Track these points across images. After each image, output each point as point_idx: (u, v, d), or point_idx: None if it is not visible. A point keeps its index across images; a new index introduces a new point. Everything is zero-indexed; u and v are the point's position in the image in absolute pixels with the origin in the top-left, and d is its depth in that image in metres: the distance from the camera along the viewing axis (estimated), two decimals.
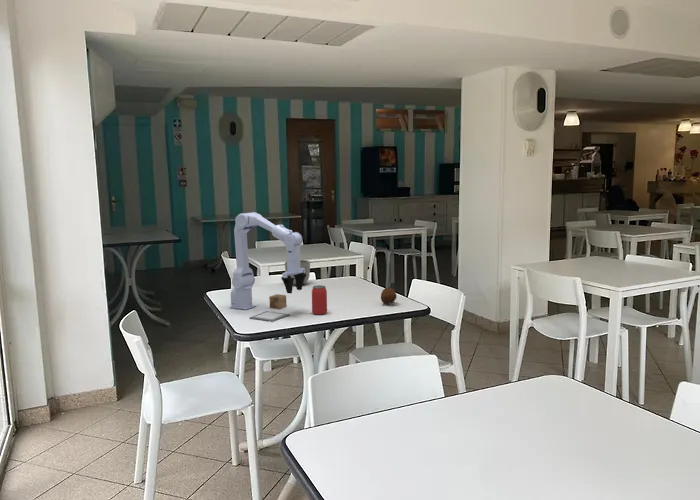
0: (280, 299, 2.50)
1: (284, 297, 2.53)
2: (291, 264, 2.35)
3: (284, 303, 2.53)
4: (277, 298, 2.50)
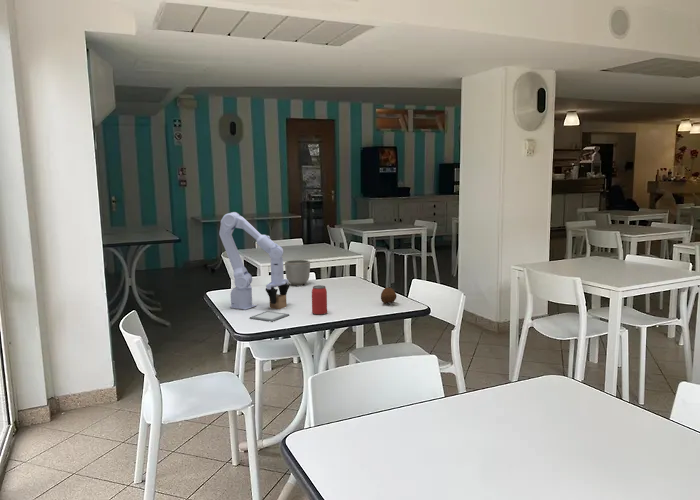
0: (280, 299, 2.50)
1: (284, 297, 2.53)
2: (275, 276, 2.49)
3: (284, 303, 2.53)
4: (277, 298, 2.50)
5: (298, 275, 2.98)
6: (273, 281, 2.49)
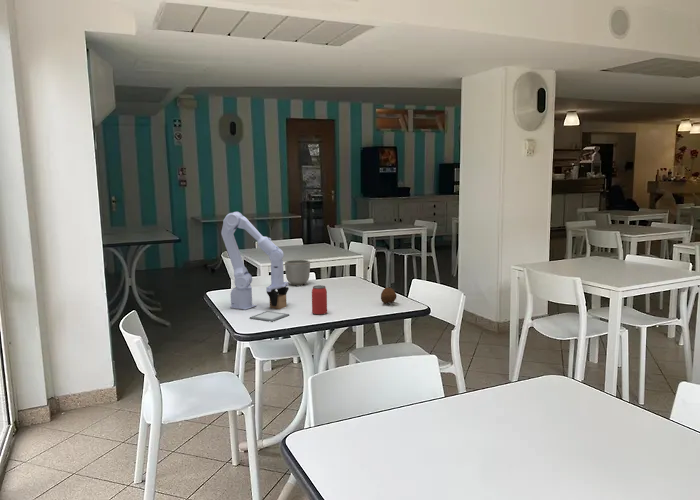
0: (280, 299, 2.50)
1: (284, 297, 2.53)
2: (275, 279, 2.49)
3: (284, 303, 2.53)
4: (277, 298, 2.50)
5: (298, 275, 2.98)
6: (273, 284, 2.50)
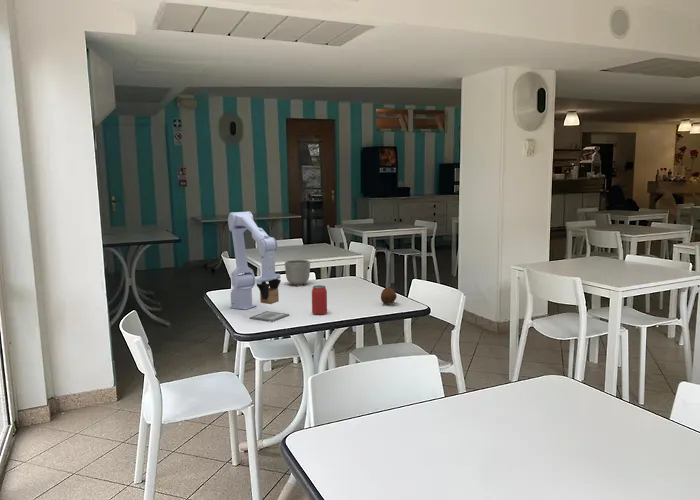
0: (271, 293, 2.32)
1: (276, 291, 2.34)
2: (265, 270, 2.31)
3: (276, 297, 2.35)
4: (268, 292, 2.31)
5: (298, 275, 2.98)
6: (264, 275, 2.31)
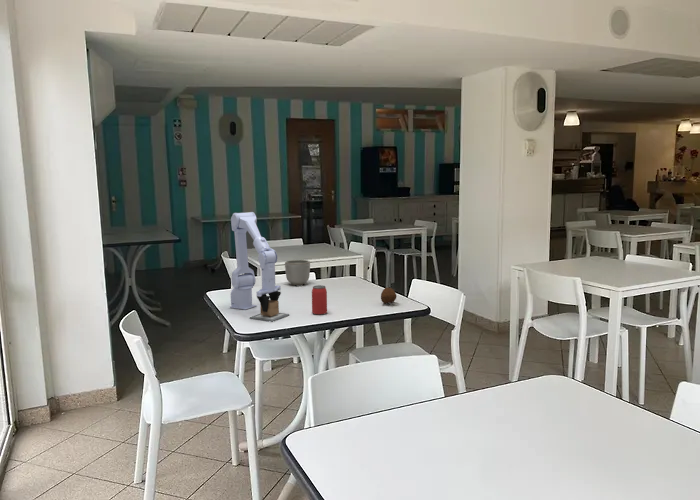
0: (271, 305, 2.32)
1: (276, 303, 2.35)
2: (266, 282, 2.31)
3: (276, 309, 2.35)
4: (268, 304, 2.32)
5: (298, 275, 2.98)
6: (264, 288, 2.32)
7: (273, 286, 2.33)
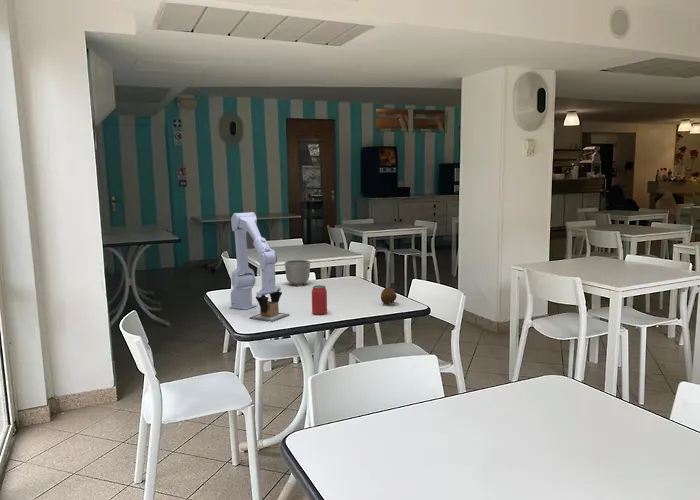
0: (271, 307, 2.32)
1: (276, 304, 2.35)
2: (266, 283, 2.31)
3: (276, 311, 2.35)
4: (268, 305, 2.32)
5: (298, 275, 2.98)
6: (264, 288, 2.32)
7: (273, 287, 2.33)
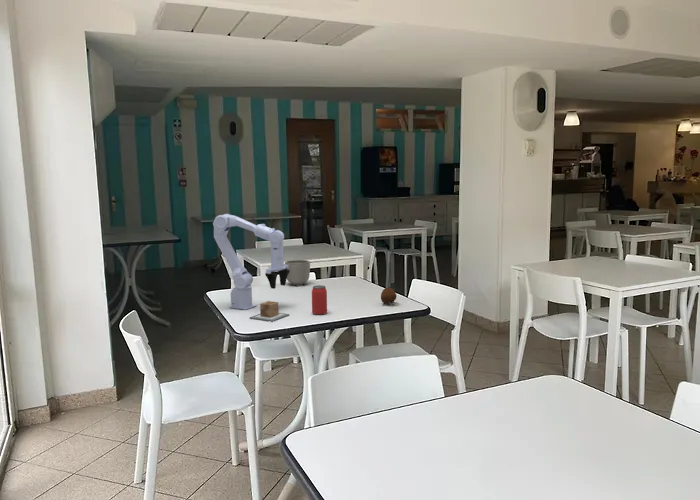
0: (271, 307, 2.32)
1: (276, 304, 2.35)
2: (275, 260, 2.46)
3: (276, 311, 2.35)
4: (268, 305, 2.32)
5: (298, 275, 2.98)
6: (273, 266, 2.47)
7: (281, 264, 2.48)
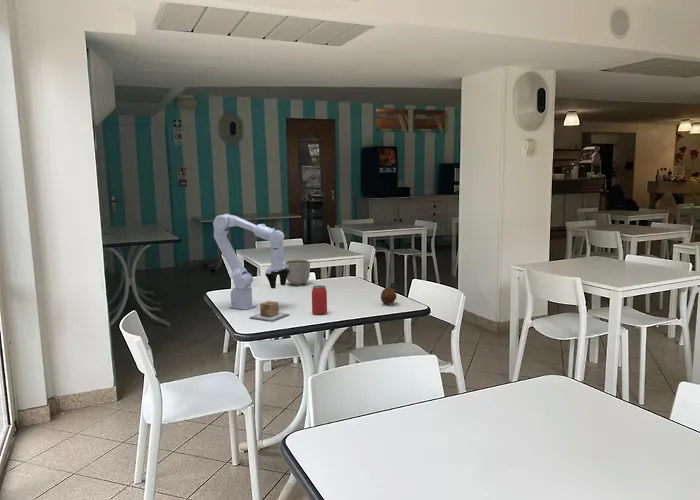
0: (271, 307, 2.32)
1: (276, 304, 2.35)
2: (275, 260, 2.46)
3: (276, 311, 2.35)
4: (268, 305, 2.32)
5: (298, 275, 2.98)
6: (273, 266, 2.47)
7: (282, 264, 2.48)
